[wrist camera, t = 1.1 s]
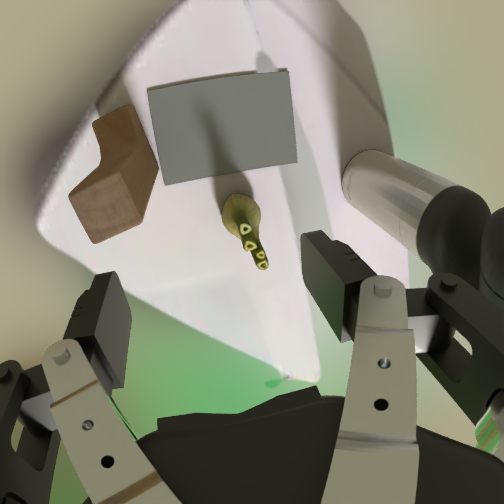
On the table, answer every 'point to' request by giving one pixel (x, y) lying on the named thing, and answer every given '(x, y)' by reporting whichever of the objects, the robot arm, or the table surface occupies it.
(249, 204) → the fennel bulb
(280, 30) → the table surface
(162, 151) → the mat
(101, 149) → the wooden block
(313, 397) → the robot arm
